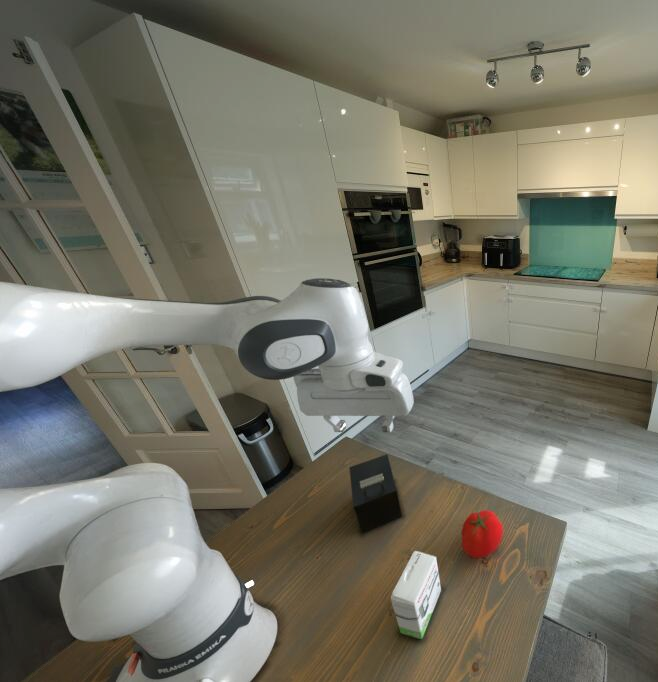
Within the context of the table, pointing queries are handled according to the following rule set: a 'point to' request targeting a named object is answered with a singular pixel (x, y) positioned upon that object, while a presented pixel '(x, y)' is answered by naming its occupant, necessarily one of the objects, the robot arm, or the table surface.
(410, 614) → the ink box
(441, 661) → the table surface
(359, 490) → the bin lid
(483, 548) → the tomato
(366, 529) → the trash bin
